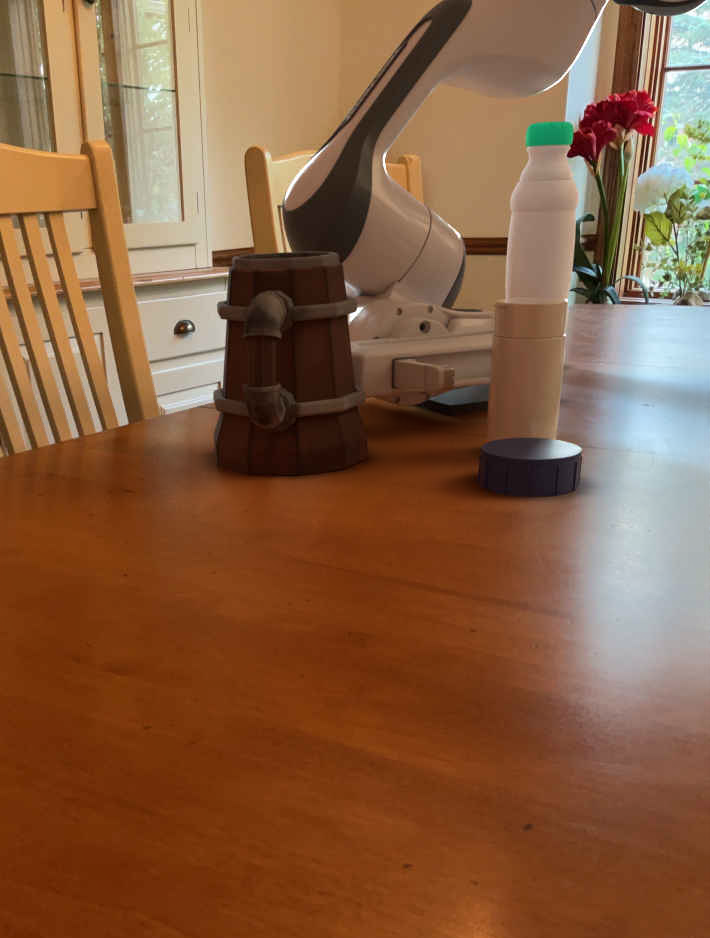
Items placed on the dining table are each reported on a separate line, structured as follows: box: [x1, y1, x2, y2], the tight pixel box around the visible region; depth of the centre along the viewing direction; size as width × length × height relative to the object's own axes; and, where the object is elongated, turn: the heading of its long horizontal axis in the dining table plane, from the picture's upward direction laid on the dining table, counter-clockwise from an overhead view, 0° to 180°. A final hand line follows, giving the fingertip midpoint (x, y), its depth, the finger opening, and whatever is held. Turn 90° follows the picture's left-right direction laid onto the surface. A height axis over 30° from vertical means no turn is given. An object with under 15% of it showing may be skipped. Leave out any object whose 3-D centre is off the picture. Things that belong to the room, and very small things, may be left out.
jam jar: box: [485, 297, 567, 443], centre depth 77 cm, size 5×5×11 cm
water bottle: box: [505, 121, 580, 365], centre depth 113 cm, size 7×7×25 cm
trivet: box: [416, 384, 489, 416], centre depth 101 cm, size 12×12×1 cm
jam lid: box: [477, 438, 583, 498], centre depth 71 cm, size 7×7×3 cm
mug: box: [212, 251, 368, 477], centre depth 76 cm, size 16×12×15 cm
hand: (498, 373), depth 81 cm, fingers open, 8 cm apart
